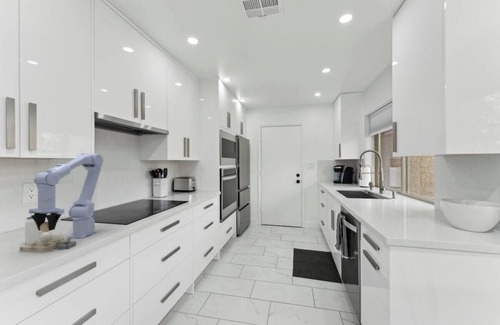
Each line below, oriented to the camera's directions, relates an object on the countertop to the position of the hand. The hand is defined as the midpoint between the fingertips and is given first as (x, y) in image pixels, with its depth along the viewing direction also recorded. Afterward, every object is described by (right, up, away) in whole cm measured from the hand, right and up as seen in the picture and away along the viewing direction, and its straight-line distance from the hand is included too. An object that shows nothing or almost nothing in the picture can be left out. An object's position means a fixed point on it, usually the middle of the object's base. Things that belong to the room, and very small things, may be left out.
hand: (46, 229), depth 97 cm
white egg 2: (0, -5, +6) cm, 8 cm away
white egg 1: (-6, -5, +6) cm, 10 cm away
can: (-14, -9, +8) cm, 18 cm away
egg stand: (+7, -9, +3) cm, 11 cm away
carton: (-3, -9, +3) cm, 10 cm away
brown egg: (0, +1, 0) cm, 1 cm away
